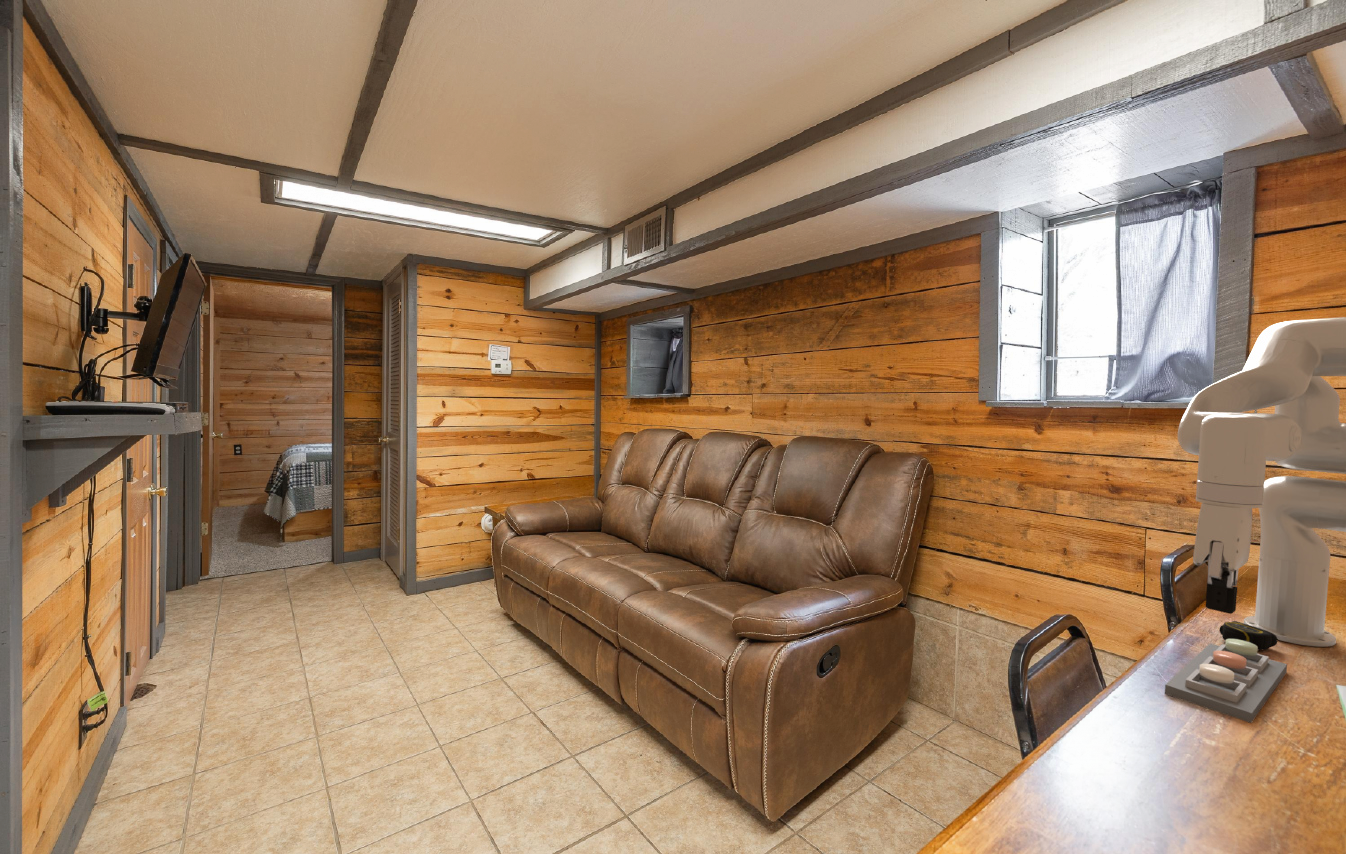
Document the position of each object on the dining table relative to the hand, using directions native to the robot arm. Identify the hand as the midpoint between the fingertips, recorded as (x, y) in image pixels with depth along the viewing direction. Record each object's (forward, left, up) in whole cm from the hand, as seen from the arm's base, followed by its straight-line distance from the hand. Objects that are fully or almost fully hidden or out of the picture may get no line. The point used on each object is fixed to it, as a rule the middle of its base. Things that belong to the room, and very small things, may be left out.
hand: (1220, 609), depth 91 cm
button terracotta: (-8, 0, -11) cm, 14 cm away
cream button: (0, 0, -11) cm, 11 cm away
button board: (-8, 0, -14) cm, 17 cm away
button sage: (-16, 0, -11) cm, 20 cm away
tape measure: (-31, -2, -15) cm, 34 cm away
